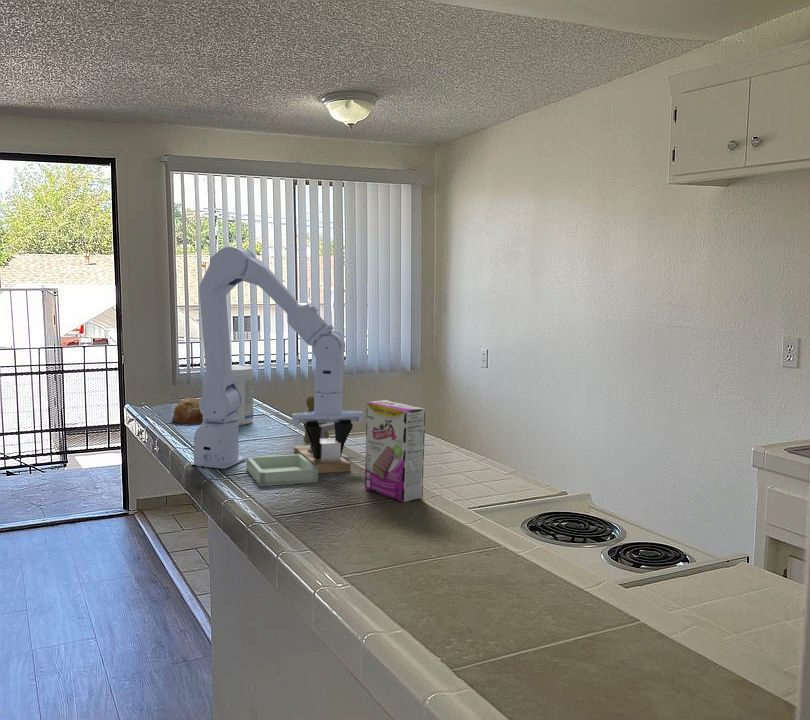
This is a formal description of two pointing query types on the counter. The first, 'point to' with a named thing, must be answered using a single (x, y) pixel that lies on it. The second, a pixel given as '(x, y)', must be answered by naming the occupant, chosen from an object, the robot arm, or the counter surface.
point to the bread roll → (188, 412)
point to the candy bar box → (395, 450)
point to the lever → (325, 429)
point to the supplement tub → (244, 392)
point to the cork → (311, 408)
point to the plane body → (326, 466)
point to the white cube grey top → (329, 450)
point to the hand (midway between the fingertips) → (327, 457)
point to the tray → (281, 469)
